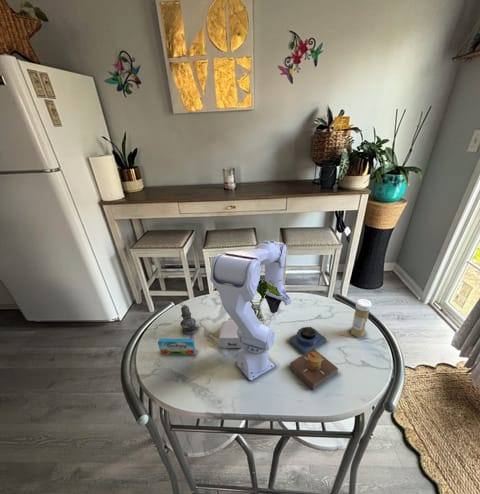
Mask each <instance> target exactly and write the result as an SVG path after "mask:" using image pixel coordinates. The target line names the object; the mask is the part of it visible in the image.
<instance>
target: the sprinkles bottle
mask: <svg viewBox="0 0 480 494" xmlns="http://www.w3.org/2000/svg"><path fill="white" fill-rule="evenodd" d="M371 308H372V302H371V301H370V300H368V299H366V298H359V299H358V300H356V303H355V310H354V313H353V319H352V323H351V330H350V334H351V335H353V336H354V337H356V338H362V337H364V335H365V333H366V332H365V331H366V328H367V325H368V319H369V316H370V315H369V314H370V310H371Z"/></svg>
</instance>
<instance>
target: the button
mask: <svg viewBox="0 0 480 494" xmlns="http://www.w3.org/2000/svg"><path fill="white" fill-rule="evenodd" d="M311 327H312V326H305V328H303V327H302V328H303V329H302V333H301V335H302V337H303V338H304V339H313V338H314V337H315V330H316V329H315V328H314V327H312V328H311ZM313 328H314V329H315V330H314V329H313Z"/></svg>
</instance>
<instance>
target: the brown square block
mask: <svg viewBox="0 0 480 494" xmlns="http://www.w3.org/2000/svg"><path fill="white" fill-rule="evenodd" d="M310 352H316V353H319V354H320V355H321V357H322V360H321V367H320V369H319V370H311V369H309V368H308V366H307V360H308V354H309V353H310ZM289 368H290V370H291V371H292V372H294V373H295V374H296V375H297V376H298V378H300V379H301V381H303V382H304V383H305V384H306V385H307V386H308V387H309V388H310V390H312V391H314V390H316V389H317V388H319V387H320V386H322V385H323V384H324V383H326V382H327V381H329V380H331V379H332V378H333V377H335V376H336V375H338V371H339V367H337V366H336V365H335V364H334V363H332V362H331V361H330V360H328V359H327V358H326V357H325V356H324V355H322V354H321V353H320V352H319V351H317V350H316V348H314V349H312V350H311V351H309V352H307V353H306V354H302V355H300V356H299V357H297V358H295V359H294V360H292V361H291V362H290V363H289Z"/></svg>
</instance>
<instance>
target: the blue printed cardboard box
mask: <svg viewBox="0 0 480 494" xmlns="http://www.w3.org/2000/svg"><path fill="white" fill-rule="evenodd" d="M157 345H158V349H159V352H160V355H162V356H163V355H165V356H167V355H168V356H196V353H197V349H196V343H195V340H194V339H193V338H165V337H164V338H162V337H160V338H159V339H158V340H157Z"/></svg>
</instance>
